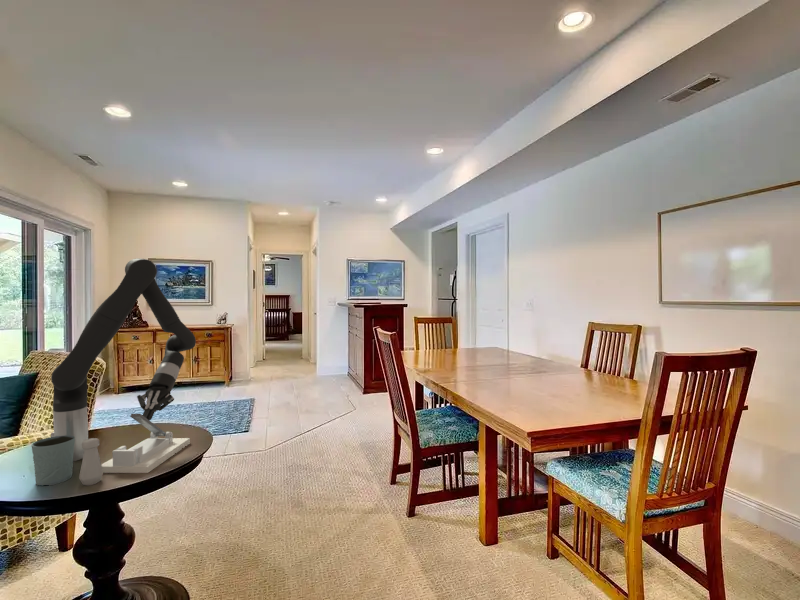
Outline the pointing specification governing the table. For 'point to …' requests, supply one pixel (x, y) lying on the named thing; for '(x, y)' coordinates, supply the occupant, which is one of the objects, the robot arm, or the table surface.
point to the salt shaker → (90, 463)
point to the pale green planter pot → (53, 459)
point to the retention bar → (148, 424)
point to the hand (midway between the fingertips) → (145, 420)
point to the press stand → (144, 454)
